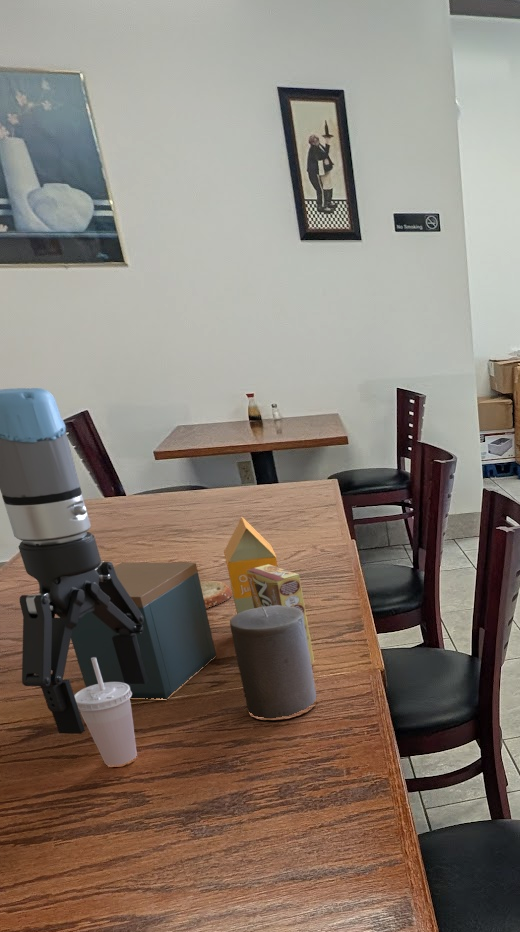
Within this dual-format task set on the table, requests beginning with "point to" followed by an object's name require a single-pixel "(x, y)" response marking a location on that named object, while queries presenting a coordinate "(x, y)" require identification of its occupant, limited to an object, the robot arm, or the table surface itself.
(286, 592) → the candy box
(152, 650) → the lidded gift box
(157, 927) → the table surface
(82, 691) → the smoothie
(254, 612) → the pillar candle
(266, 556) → the orange juice
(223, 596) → the slice of bread
